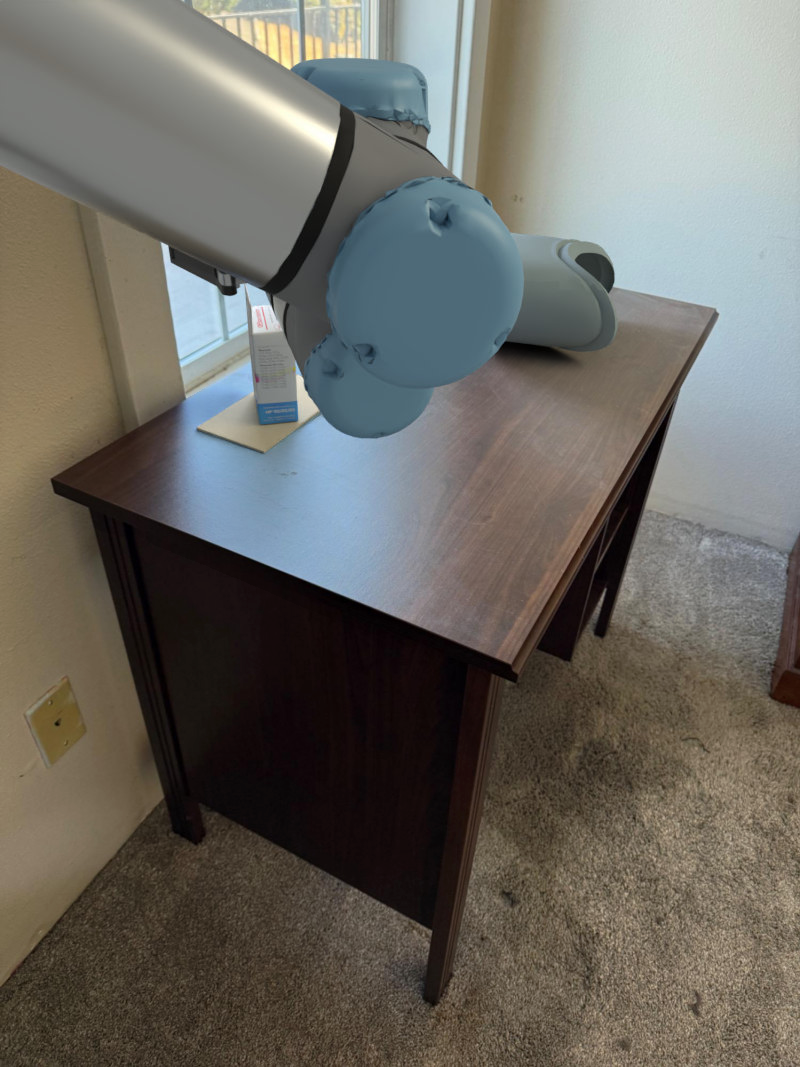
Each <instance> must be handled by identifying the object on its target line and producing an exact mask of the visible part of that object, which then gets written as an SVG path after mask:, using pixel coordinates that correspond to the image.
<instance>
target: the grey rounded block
mask: <svg viewBox="0 0 800 1067" xmlns="http://www.w3.org/2000/svg"><path fill="white" fill-rule="evenodd" d="M510 233H511V235H512V236H513V238H514V240H515V243H516V245H517V248H518V250H519V254H520V257H521V261H522V265H523V273H524V288H523V298H522V303H521V308H520V311H519V314H518V317H517V320H516V322H515V324H514V326H513V329H512V330H511V331H510V333H509V334H508V336H507V338H506V339H507V340H505V342H510V343H518V344H526V345H533V346H541V347H548V348H549V347H551V348H558V349H562V350H566V351H570V352H571V351H572V352H577V353H578V352H581V353H592V352H597V351H600V350H603V349H606V348H607V347H609V346H610V345H611V344H612V343H613V342H614V341H615V339H616V337H617V334H618V329H619V328H618V327H619V321H618V320H619V318H618V315H617V314H618V313H617V309H616V308H615V305H614V302H613V300H612V298H611V296H610V293H611V291H612V289H613V287H614V285H615V280H616V277H615V276H616V275H615V274H616V273H615V267H614V263H613V261H612V259H611V257H610V255H609V254H608V253H607V251H606V250H605V248H603V247H602V246H600V245H599V244H598V243H594V242H592V241H591V242H590V241H584V240H579V239H572V238H571V239H569V238H568V239H567V238H561V237H555V236H547V235H538V234H529V233H520V232H519V233H518V232H510Z"/></svg>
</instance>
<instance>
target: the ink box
mask: <svg viewBox="0 0 800 1067" xmlns="http://www.w3.org/2000/svg"><path fill="white" fill-rule="evenodd" d="M243 285H244V297H245V307H246V308H245V310H246V318H247V321H246V322H247V332H248V343H249V344H248V345H249V356H250V365H251V366H250V367H251V377H252V387H253V391H254V396H255V402H256V407H257V412H258V418H259V423H260V424H261V425H262V424H272V423H282V422H292V421H298V401H297V384H296V374H297V363H296V360H295V358H294V356H293V353H292V351H291V348H290V347H289V345H288V342H287V340H286V338H285V336H284V334H283V331H282V329H281V326H280V324H279V322H278V320H277V318H276V316H275V314H274V312H273V309H272V307H271V305H270V304H267V305H265V304H264V305H263V304H262V305H252V303H251V299H250V296H249V295H250V294H249V292H248V287H247V283H246V284H243Z"/></svg>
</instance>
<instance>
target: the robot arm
mask: <svg viewBox="0 0 800 1067" xmlns="http://www.w3.org/2000/svg"><path fill="white" fill-rule="evenodd" d="M426 78H427V77H425V74H424V73H423V72H422V71H421V70H420V69H419V68H417V67H415V66H413V65H411V64H408V63H404V62H400V61H394V60H386V59H377V58H364V57H363V58H362V57H327V58H326V57H325V58H324V57H323V58H315V59H307V60H302V61H300V62H298V63H296V64H294V65H293V66H292V67H291V68H290V69H289V68H287V67H286V66H284V65H283V64H281V63H280V62H279V61H277V60H276V59H274V58H272V57H271V56H269V55H267V54H266V53H264V52H263V51H261V50H259V49H258V48H256V47H255V46H253V45H252V44H250V43H249V42H248V41H245V40H244V39H242V38H241V37H239V36H238V35H236V34H235V33H233V32H232V31H230V30H228V29H227V28H225V27H224V26H223V25H221V24H219V23H218V22H216V21H214V20H213V19H211V18H210V17H208V16H207V15H205V14H204V13H203V12H201V11H199V10H197V8H194V7H192V6H191V5H190V4H188V3H187V2H185V1H183V0H0V167H2V168H4V169H6V170H9V171H11V172H12V173H15V174H17V175H19V176H21V177H23V178H26V179H27V180H29V181H31V182H33V183H36V184H37V185H40V186H42V187H44V188H46V189H48V190H50V191H53V192H55V193H57V194H59V195H61V196H63V197H65V198H67V199H70V200H72V201H73V202H75V203H78V204H79V205H82V206H84V207H86V208H88V209H90V210H92V211H94V212H97V213H99V214H101V215H103V216H105V217H107V218H109V219H111V220H113V221H115V222H118V223H119V224H122V225H124V226H126V227H128V228H131V229H132V230H134V231H136V232H139V233H140V234H143V235H145V236H147V237H149V238H151V239H153V240H156V241H158V242H160V243H162V244H164V245H166V246H168V247H167V248H168V254H169V260H170V263H171V264H172V265H175V266H176V267H178V268H180V269H182V270H184V271H186V272H188V273H190V274H192V275H194V276H196V277H197V278H200V279H202V280H204V281H206V282H207V283H210V284H211V285H214V286H215V287H217V289H218V290H219V292H220V294H222V295H223V296H225V297H233V296H236V295H237V294H238V289H240V288H241V285H244V284H246V285H247V284H248V285H250V286H252V287H254V288H256V289H259V290H260V291H263V292H265V296H266V298H267V301H268V302H269V305H271V307H272V309H273V312H274V314H275V316H276V318H277V320H278V322H279V324H280V326H281V329H282V331H283V334H284V336H285V338H286V340H287V342H288V345H289V347H290V348H291V351H292V353H293V356H294V358H295V363H296V366H297V367H298V369H299V372H300V375H301V376H302V377H303V380H304V387H305V391H307V392H308V393H307V394H308V396H309V397H310V398H311V399H312V400H313V403H314V404H316V406H317V407H318V409H319V411H320V412H319V413H320V414H321V416H322V417H323V419H325V421H326V422H327V423H328V424H329V425H330V426H332V427H333V428H334V429H336V430H337V431H338V432H340V433H342V434H344V435H346V436H349V437H353V438H357V439H374V440H375V439H380V438H384V437H389V436H392V435H394V434H397V433H399V432H401V431H402V430H404V429H406V428H407V427H409V426H410V425H412V424H413V423H414V422H415V421H416V420H417V419H418V418H419V417H420V416H421V415H422V414H423V413H424V411H425V409H426V408H427V406H428V405H429V403H430V402H431V399H432V397H433V394H434V391H435V388H440V387H443V386H447V385H450V384H453V383H456V382H458V381H460V380H462V379H465V378H466V377H468V376H470V375H472V374H473V373H474V372H476V371H477V370H479V369H480V368H482V367H483V366H484V365H485V364H486V363H488V362H489V361H490V360H491V359H492V358H493V357H494V356H495V355H496V353H497V352H499V350H500V348H501V347H502V345H503V344H504V343H506V341H505V340H507V339H506V338H507V336H508V334H509V333H510V331H511V330H512V329H513V326H514V324H515V322H516V320H517V317H518V314H519V311H520V308H521V303H522V298H523V288H524V273H523V265H522V261H521V257H520V254H519V250H518V248H517V245H516V243H515V240H514V238H513V236H512V235H511V233H512V232H511V231H510V229H509V228H508V226H506V224H505V223H504V221H503V220H502V219H501V216H500V215H499V214H498V213H497V212H496V210H495V209H494V207H493V202H492V201H491V200H490V199H489V198H488V197H487V196H486V195H484V194H483V193H482V192H481V191H479V190H478V189H475V188H473V187H471V186H469V185H468V184H466V183H465V182H464V181H462V179H460V178H459V177H458V176H456V175H455V174H454V173H453V172H452V171H451V170H449V169H448V168H447V167H446V166H445V165H444V164H443V162H441V160H440V159H438V157H437V156H436V155H434V154H433V152H432V151H431V150H429V148H427V147H428V146H427V144H428V138H429V135H430V134H431V132H432V131H431V130H432V125H431V124H430V120H429V91H428V90H429V88H428V86H429V85H428V82H427V79H426Z"/></svg>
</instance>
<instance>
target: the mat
mask: <svg viewBox="0 0 800 1067" xmlns="http://www.w3.org/2000/svg"><path fill="white" fill-rule="evenodd" d="M296 384H297V401H298V421H292V422H282V423H272V424H262V425H261V424H260V423H259V418H258V412H257V407H256V402H255V396H254V390H253V391H251V392H250V393H248V394H246V395H245V396H244V397H242V398H240V399H238V400H237V401H235V402H234V403H233V404H231V405H229V406H228V407H226V408H224V409H223V410H221V411H220V412H218V413H217V414H215V415H214V416H212V417H210V418H208V419H207V420H205V421H204V422H203V423H201V424H199V425H197V427H195V428H196V429H195V430H197V431H199V432H202V433H205V434H207V435H211V436H214V437H216V438H220V439H222V440H226V441H227V442H231V443H233V444H236V445H239V446H241V447H245V448H247V449H250V450H252V451H256V452H259V453H262V454H266V453H267V452H268V451H270V450H271V449H272V448H273V447H275V446H276V445H277V444H279V443H280V442H281V441H282V440H284V439H285V438H287V437H288V436H289V435H291V434H292V433H294V432H295V431H296V430H297V429H299V428H300V427H301V426H303V425H304V424H306V423H307V422H308V421H310V420H311V419H312V418H314V417H315V416H316V415H318V414H319V413H321V412H320V411H319V409H318V407H317V406H316V404H314V403H313V400H312V399H311V398H310V397H309V396H308V394H307V393H308V392H307V391H305V387H304V380H303V377H302V375H301V374H297V373H296Z"/></svg>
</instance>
